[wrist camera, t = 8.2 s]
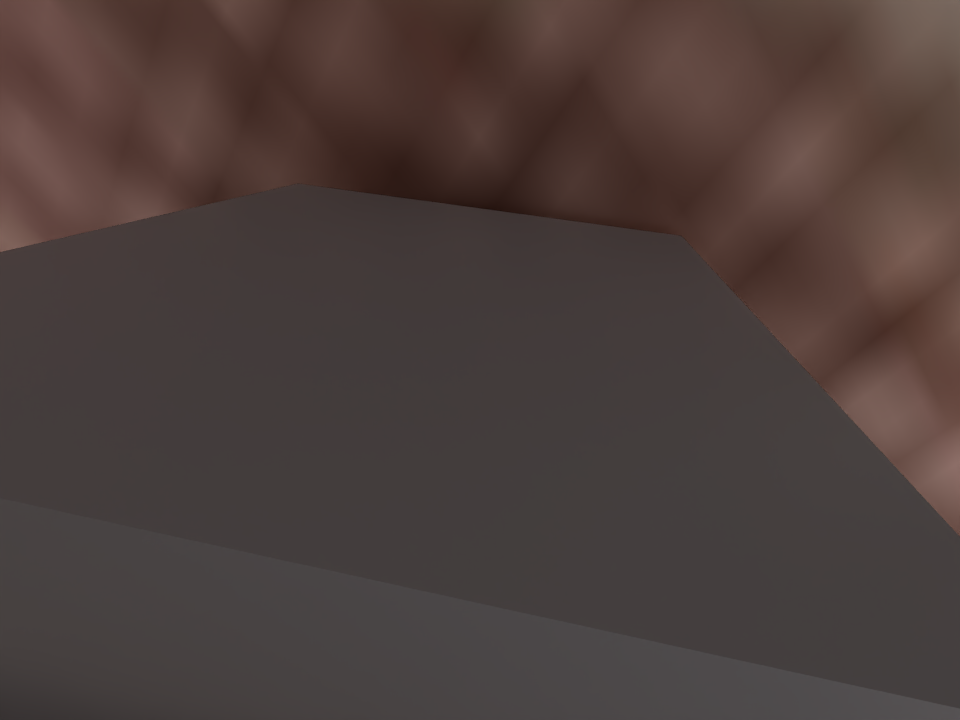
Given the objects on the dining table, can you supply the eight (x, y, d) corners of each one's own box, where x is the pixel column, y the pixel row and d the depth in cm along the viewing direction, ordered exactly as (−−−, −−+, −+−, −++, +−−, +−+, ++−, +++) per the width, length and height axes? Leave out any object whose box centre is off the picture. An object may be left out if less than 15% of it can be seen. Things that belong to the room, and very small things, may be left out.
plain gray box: (298, 183, 10) (-550, 377, 3) (681, 235, 10) (1159, 751, 2) (317, 540, 15) (28, 1013, 7) (580, 597, 14) (589, 1203, 6)
